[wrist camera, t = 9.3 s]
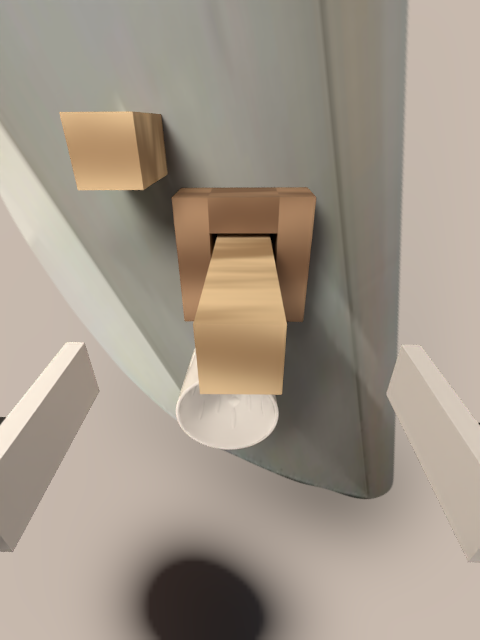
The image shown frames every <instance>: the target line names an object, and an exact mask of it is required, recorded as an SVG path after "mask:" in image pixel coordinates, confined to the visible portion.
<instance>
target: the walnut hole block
mask: <svg viewBox="0 0 480 640" xmlns="http://www.w3.org/2000/svg"><path fill="white" fill-rule="evenodd" d="M315 204H316V196H315V195H314V194H313V193H312V192H311V191H310V190H309V189H308V188H307V187H299V188H181V189H180V190H179V191H178V192H177V193H176V194H175V195H174V196H173V197H172V206H173V216H174V225H175V235H176V244H177V253H178V263H179V272H180V281H181V291H182V300H183V309H184V319H185V321H194V320H195V316H196V312H197V309H198V305H199V301H200V298H201V294H202V290H203V287H204V283H205V279H206V276H207V272H208V268H209V265H210V261H211V257H212V254H213V250H214V246H215V233H274V235H273V255H274V260H275V265H276V270H277V276H278V281H279V286H280V291H281V296H282V302H283V307H284V312H285V317H286V322H303V318H304V308H305V299H306V289H307V280H308V270H309V261H310V251H311V242H312V232H313V223H314V213H315Z"/></svg>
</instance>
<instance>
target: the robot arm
mask: <svg viewBox="0 0 480 640" xmlns="http://www.w3.org/2000/svg"><path fill="white" fill-rule="evenodd" d="M98 393H99V387H98V384H97V381H96V378H95V375H94V371H93V368H92V365H91V362H90V359H89V355H88V353H87V349H86V346H85V343H82V342H80V343H78V342H66V344H65V345H64V346H63V347H62V348H61V350H60V351H59V352H58V354H57V355H56V356H55V357H54V359H53V360H52V361H51V362H50V364H49V365H48V366H47V367H46V369H45V370H44V371H43V372H42V374H41V375H40V376H39V377H38V379H37V380H36V381H35V382H34V384H33V385H32V386H31V387H30V389H29V390H28V391H27V392H26V394H25V395H24V396H23V397H22V399H21V400H20V401H19V402H18V404H17V405H16V406H15V407H14V409H13V410H12V411H11V412H10V414H9V415H8V416H7V417H0V551H1V552H13V551H14V549H15V547H16V545H17V543H18V541H19V540H20V538H21V536H22V534H23V532H24V530H25V529H26V527H27V525H28V523H29V521H30V519H31V517H32V515H33V514H34V512H35V510H36V508H37V506H38V504H39V502H40V501H41V499H42V497H43V495H44V493H45V491H46V490H47V488H48V486H49V484H50V482H51V480H52V478H53V477H54V475H55V473H56V471H57V469H58V467H59V465H60V464H61V462H62V460H63V458H64V456H65V454H66V452H67V451H68V449H69V447H70V445H71V443H72V441H73V439H74V438H75V435H76V434H77V432H78V430H79V428H80V426H81V425H82V423H83V421H84V419H85V417H86V415H87V414H88V412H89V410H90V408H91V406H92V404H93V402H94V400H95V399H96V397H97V395H98ZM386 395H387V397H388V399H389V401H390V403H391V405H392V407H393V409H394V411H395V413H396V415H397V417H398V419H399V421H400V423H401V425H402V427H403V429H404V431H405V433H406V436H407V438H408V439H409V441H410V444H411V445H412V448H413V450H414V452H415V454H416V456H417V458H418V460H419V462H420V464H421V466H422V468H423V470H424V472H425V474H426V476H427V478H428V481H429V483H430V485H431V486H432V489H433V491H434V493H435V495H436V497H437V499H438V501H439V503H440V505H441V507H442V509H443V511H444V513H445V515H446V517H447V519H448V521H449V523H450V525H451V527H452V530H453V532H454V534H455V535H456V538H457V540H458V542H459V544H460V546H461V548H462V550H463V552H464V554H465V556H466V558H467V560H468V562H480V423H478V422H477V421H476V420H475V418H474V417H473V415H472V414H471V413H470V411H469V410H468V409H467V408H466V406H465V405H464V403H463V402H462V401H461V399H460V398H459V397H458V395H457V394H456V393H455V391H454V390H453V389H452V387H451V386H450V384H449V383H448V382H447V380H446V379H445V378H444V376H443V375H442V374H441V372H440V371H439V370H438V368H437V367H436V366H435V364H434V363H433V361H432V360H431V359H430V357H429V356H428V355H427V353H426V352H425V351H424V349H423V348H422V347H421V345H401V348H400V351H399V355H398V358H397V361H396V364H395V368H394V371H393V374H392V377H391V380H390V384H389V387H388V390H387V393H386Z"/></svg>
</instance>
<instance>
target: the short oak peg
mask: <svg viewBox="0 0 480 640" xmlns="http://www.w3.org/2000/svg"><path fill="white" fill-rule="evenodd" d="M59 113H60V117H61V121H62V125H63V130H64V134H65V138H66V142H67V146H68V150H69V155H70V159H71V163H72V167H73V171H74V175H75V179H76V184H77V188H78V190H144V189H146V188H147V187H149V186H150V185H152V184H153V183H155V182H157V181H158V180H160V179H161V178H163V177H164V176H166V175H167V174H168V173H167V164H166V155H165V145H164V136H163V127H162V117H161V114H152V113H141V112H59Z"/></svg>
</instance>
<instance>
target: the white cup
mask: <svg viewBox="0 0 480 640" xmlns="http://www.w3.org/2000/svg"><path fill="white" fill-rule="evenodd" d="M278 416H279V412H278V405H277V399H276V395H265V394H200V389H199V379H198V368H197V358H196V348H195V350H194V352H193V355H192V358H191V361H190V364H189V367H188V370H187V373H186V376H185V380H184V383H183V386H182V389H181V392H180V395H179V399H178V402H177V405H176V417H177V420H178V423H179V425H180V426H181V428H182V429H183V431H185V433H186V434H187V435H188V436H190V437H191V438H192V439H194V440H195V441H197V442H199V443H201V444H203V445H206V446H209V447H213V448H218V449H241V448H246V447H249V446H252V445H255V444H257V443H259V442H261V441H262V440H264V439H265V438H266V437H268V436H269V435H270V434H271V433H272V431H273V430H274V428H275V427H276V424H277V421H278Z"/></svg>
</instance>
